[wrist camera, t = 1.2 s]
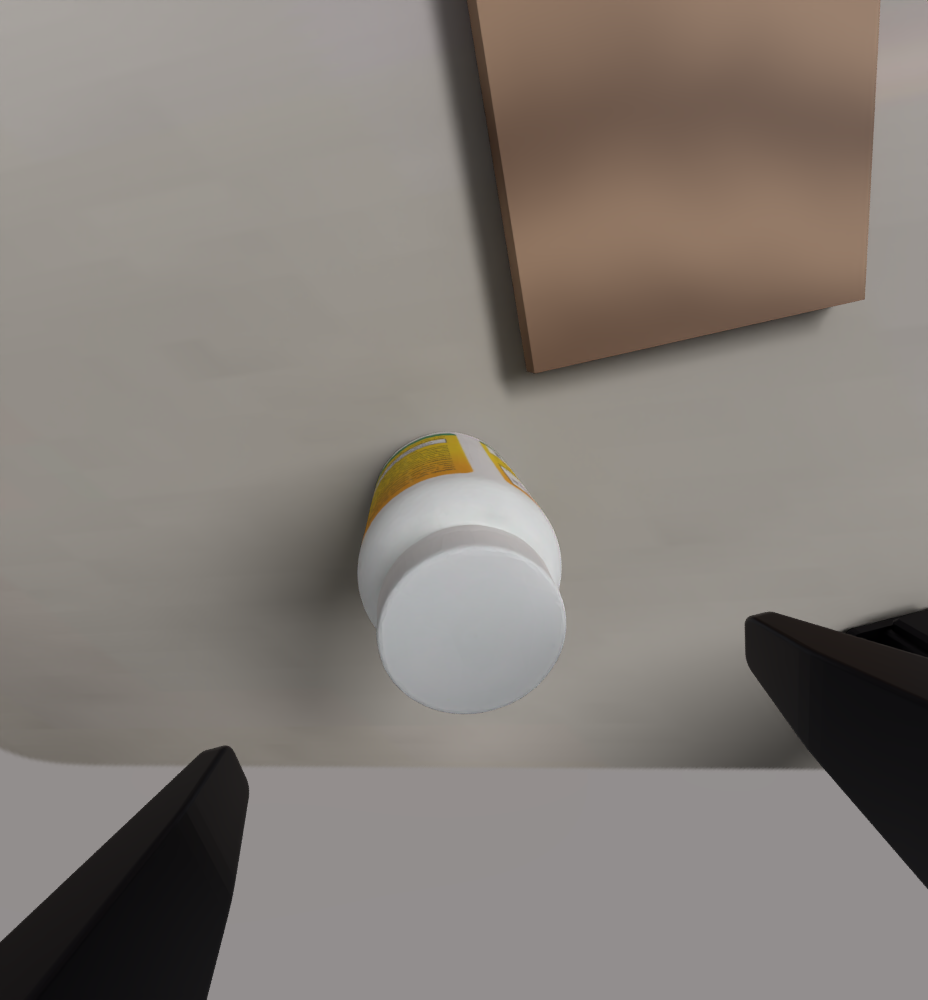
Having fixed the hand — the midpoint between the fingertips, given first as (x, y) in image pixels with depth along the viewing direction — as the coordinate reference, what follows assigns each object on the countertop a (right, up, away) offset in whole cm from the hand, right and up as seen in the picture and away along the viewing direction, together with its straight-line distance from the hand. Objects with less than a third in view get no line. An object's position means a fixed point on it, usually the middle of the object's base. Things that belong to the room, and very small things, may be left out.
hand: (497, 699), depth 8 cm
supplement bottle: (-1, +4, +11) cm, 12 cm away
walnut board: (+6, +15, +8) cm, 18 cm away
